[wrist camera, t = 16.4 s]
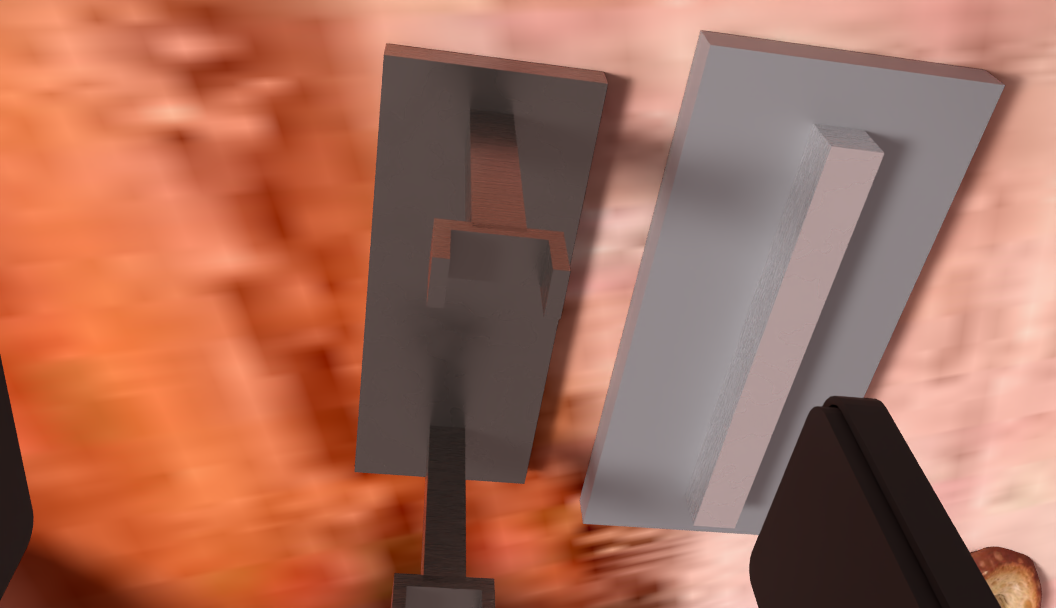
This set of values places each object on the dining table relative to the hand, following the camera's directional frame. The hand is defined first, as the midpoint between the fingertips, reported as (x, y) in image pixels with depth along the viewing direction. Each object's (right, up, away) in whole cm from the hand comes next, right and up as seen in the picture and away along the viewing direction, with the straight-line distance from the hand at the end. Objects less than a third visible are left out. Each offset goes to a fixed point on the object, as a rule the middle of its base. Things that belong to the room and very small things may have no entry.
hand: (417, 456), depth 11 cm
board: (+14, +1, +40) cm, 43 cm away
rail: (+14, 0, +39) cm, 41 cm away
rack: (-2, +3, +38) cm, 38 cm away
